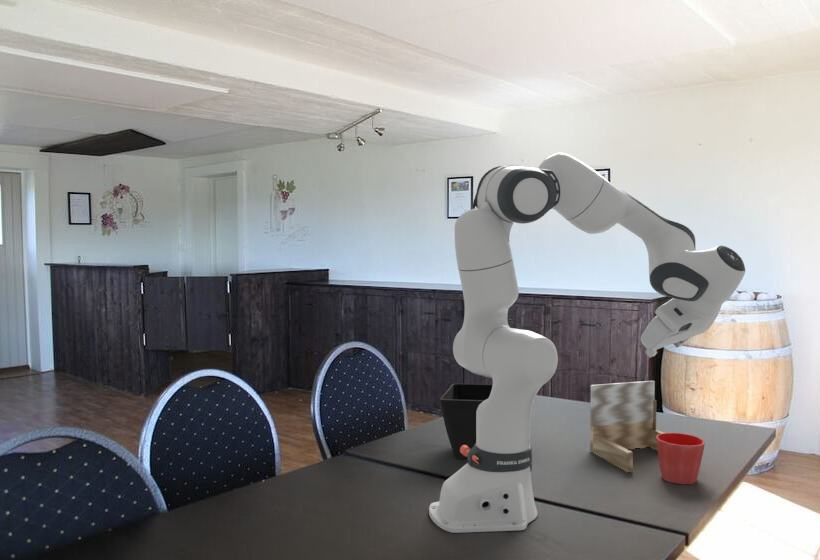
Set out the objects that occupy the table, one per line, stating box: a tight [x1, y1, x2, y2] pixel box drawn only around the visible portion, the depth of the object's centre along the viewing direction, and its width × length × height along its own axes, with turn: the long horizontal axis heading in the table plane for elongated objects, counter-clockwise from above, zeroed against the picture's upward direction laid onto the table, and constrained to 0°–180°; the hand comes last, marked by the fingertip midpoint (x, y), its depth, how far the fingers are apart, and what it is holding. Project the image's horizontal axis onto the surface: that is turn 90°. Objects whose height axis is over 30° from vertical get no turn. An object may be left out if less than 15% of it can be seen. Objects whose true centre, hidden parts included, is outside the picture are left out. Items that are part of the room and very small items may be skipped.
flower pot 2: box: [656, 432, 706, 485], centre depth 162 cm, size 11×11×10 cm
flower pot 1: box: [439, 383, 493, 461], centre depth 182 cm, size 19×19×17 cm
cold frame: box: [589, 380, 665, 473], centre depth 177 cm, size 19×18×18 cm
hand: (663, 349), depth 160 cm, fingers open, 8 cm apart
